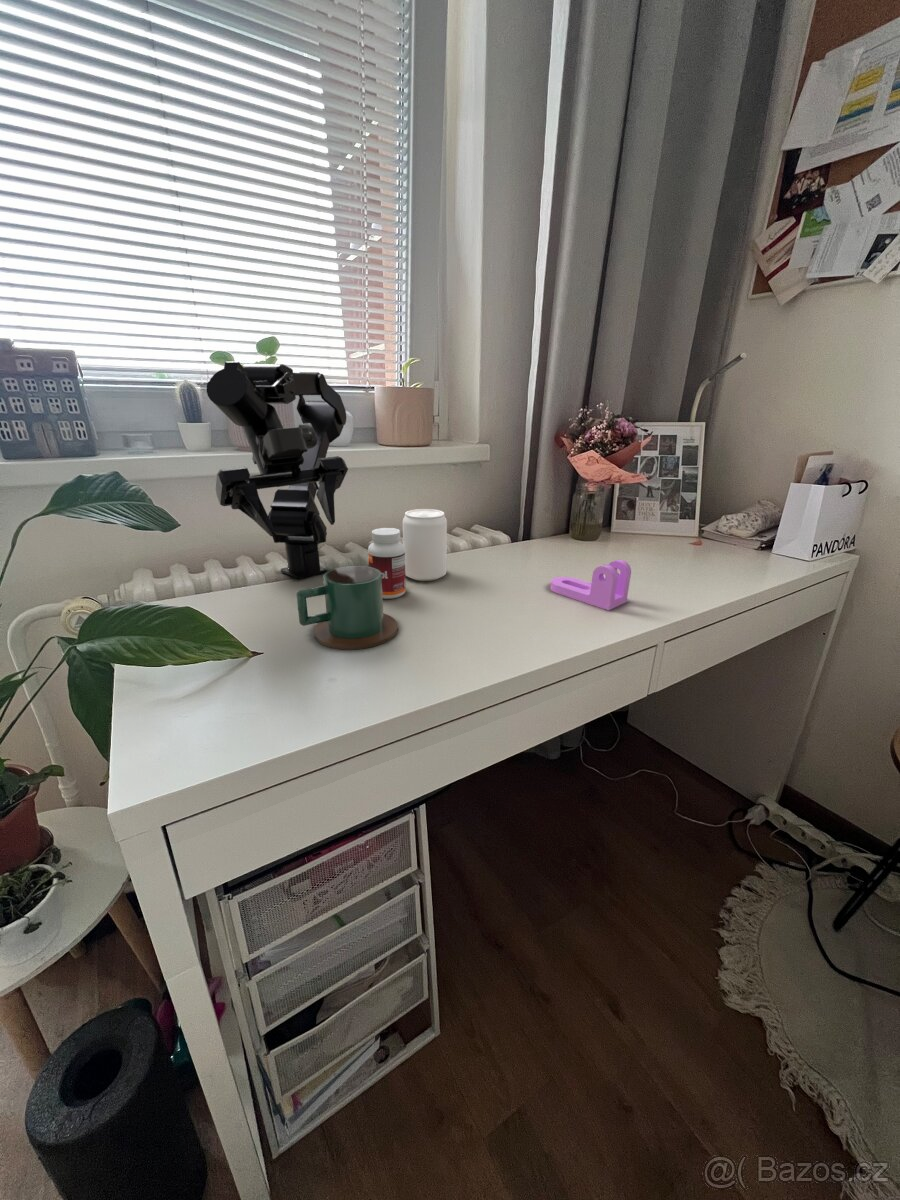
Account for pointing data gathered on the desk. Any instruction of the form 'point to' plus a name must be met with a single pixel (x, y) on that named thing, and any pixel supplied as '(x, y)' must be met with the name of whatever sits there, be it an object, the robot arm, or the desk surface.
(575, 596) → the bracket
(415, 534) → the beverage can
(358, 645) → the coaster
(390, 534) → the pill bottle
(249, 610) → the desk surface
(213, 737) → the desk surface
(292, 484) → the robot arm
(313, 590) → the mug
